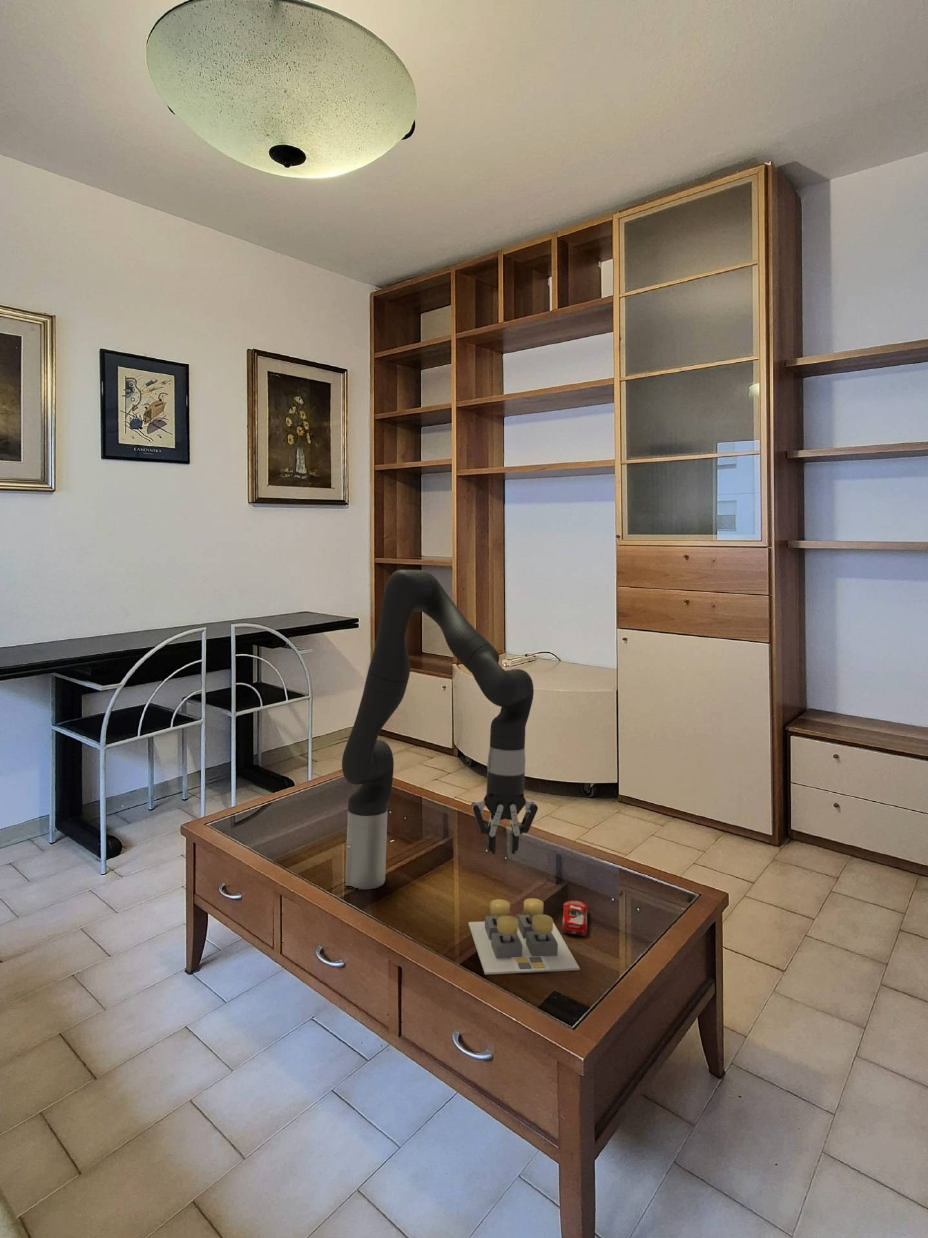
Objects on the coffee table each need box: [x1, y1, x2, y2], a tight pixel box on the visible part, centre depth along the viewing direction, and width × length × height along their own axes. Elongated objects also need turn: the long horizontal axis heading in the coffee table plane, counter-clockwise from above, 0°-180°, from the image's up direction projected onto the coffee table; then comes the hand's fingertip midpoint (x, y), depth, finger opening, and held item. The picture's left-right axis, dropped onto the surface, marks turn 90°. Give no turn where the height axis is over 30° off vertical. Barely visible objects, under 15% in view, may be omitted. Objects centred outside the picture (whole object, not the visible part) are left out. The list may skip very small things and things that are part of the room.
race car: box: [561, 900, 589, 937], centre depth 150 cm, size 13×5×4 cm, turn 168°
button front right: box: [532, 913, 554, 941], centre depth 138 cm, size 4×4×4 cm
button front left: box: [497, 915, 518, 943], centre depth 137 cm, size 4×4×4 cm
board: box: [467, 914, 581, 975], centre depth 140 cm, size 18×19×3 cm
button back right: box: [523, 897, 544, 924], centre depth 145 cm, size 4×4×4 cm
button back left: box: [489, 898, 511, 925], centre depth 143 cm, size 4×4×4 cm
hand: (502, 852), depth 143 cm, fingers open, 3 cm apart
